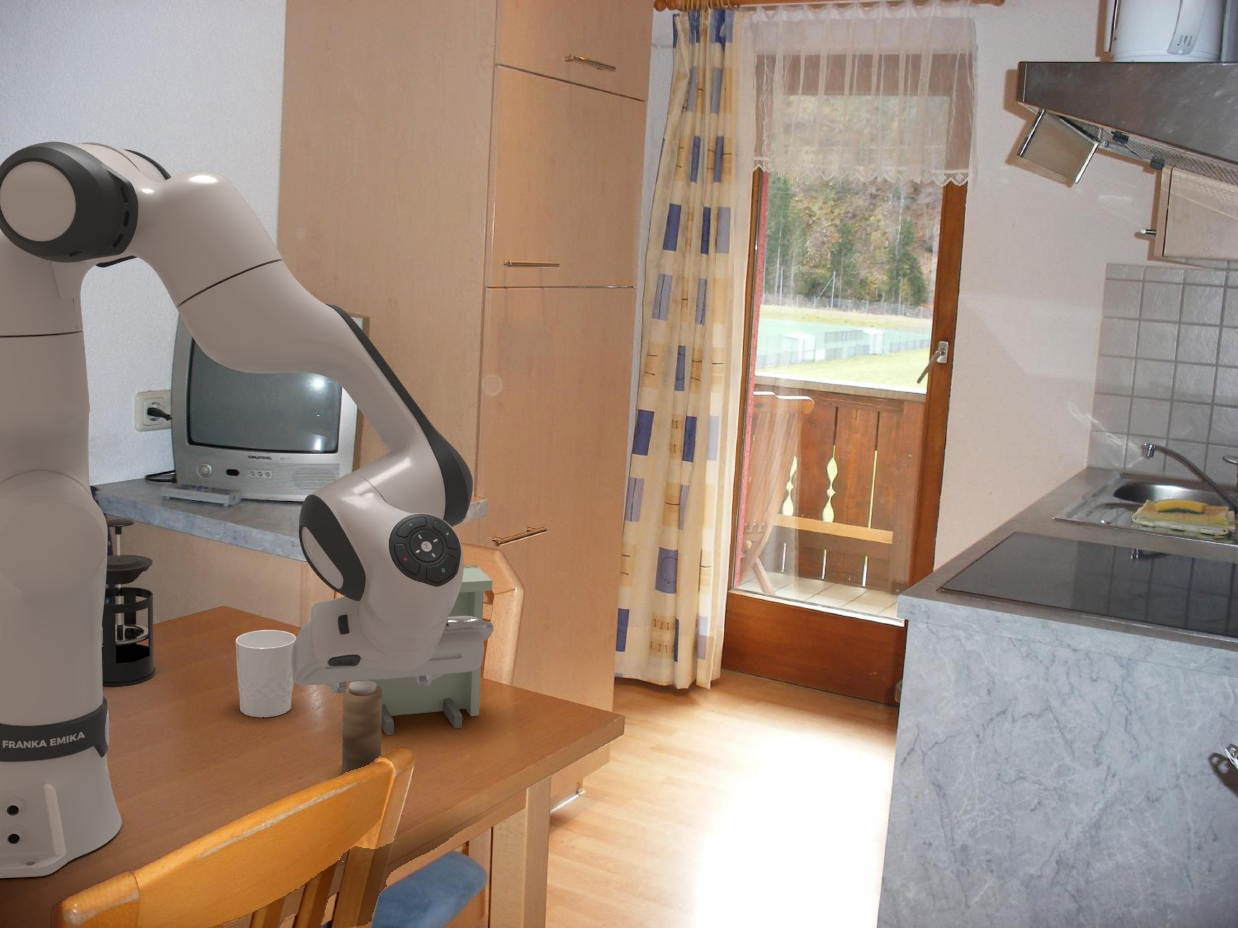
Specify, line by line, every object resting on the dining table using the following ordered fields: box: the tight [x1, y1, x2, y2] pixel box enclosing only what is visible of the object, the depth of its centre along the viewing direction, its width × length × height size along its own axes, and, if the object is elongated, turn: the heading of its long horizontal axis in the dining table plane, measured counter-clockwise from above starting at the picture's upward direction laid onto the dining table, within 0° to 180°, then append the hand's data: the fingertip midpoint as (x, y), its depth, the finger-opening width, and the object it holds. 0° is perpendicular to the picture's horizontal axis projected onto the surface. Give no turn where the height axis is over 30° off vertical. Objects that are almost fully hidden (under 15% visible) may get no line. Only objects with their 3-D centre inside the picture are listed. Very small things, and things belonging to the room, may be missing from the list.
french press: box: [102, 518, 156, 688], centre depth 168 cm, size 12×9×23 cm
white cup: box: [235, 629, 297, 718], centre depth 160 cm, size 8×8×10 cm
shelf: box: [350, 564, 493, 736], centre depth 158 cm, size 17×8×20 cm, turn 112°
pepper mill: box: [341, 680, 382, 774], centre depth 142 cm, size 5×5×11 cm
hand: (380, 683), depth 131 cm, fingers open, 8 cm apart
